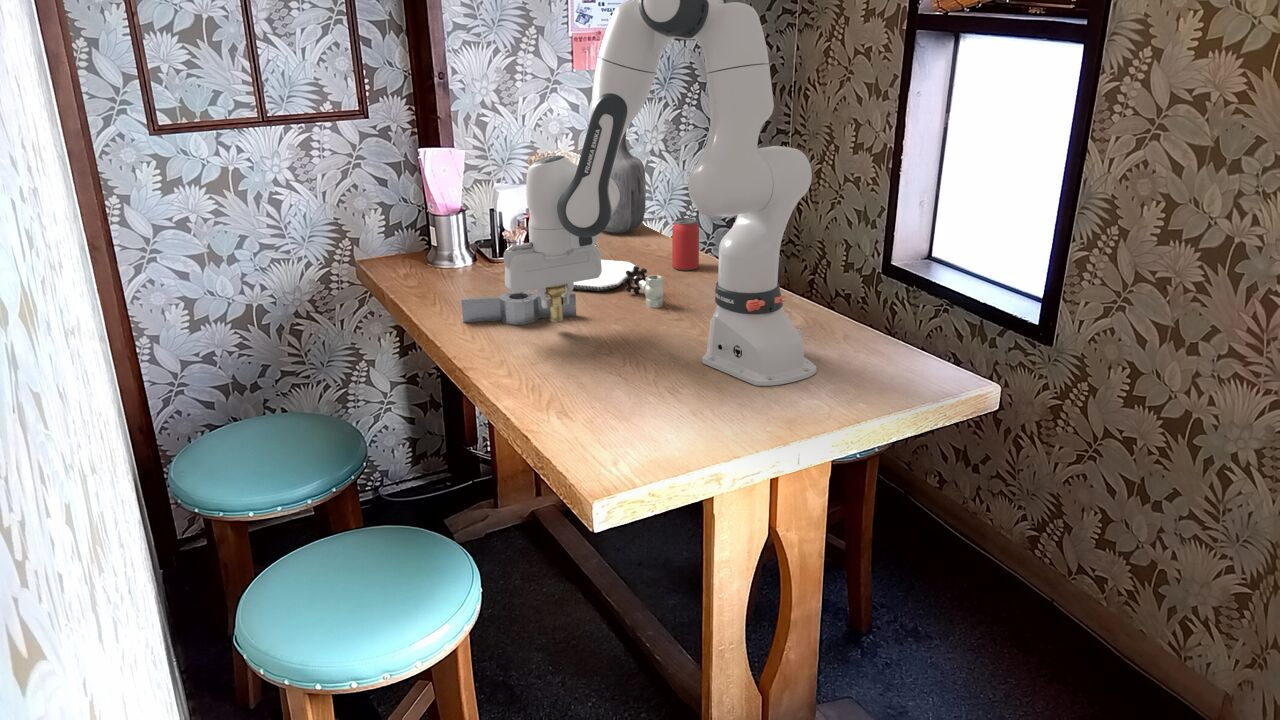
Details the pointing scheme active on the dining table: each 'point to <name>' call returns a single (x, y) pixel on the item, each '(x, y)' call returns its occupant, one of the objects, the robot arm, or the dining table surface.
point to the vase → (628, 191)
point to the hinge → (511, 308)
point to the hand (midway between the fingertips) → (555, 305)
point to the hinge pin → (556, 302)
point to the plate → (607, 276)
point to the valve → (646, 286)
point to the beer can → (685, 244)
